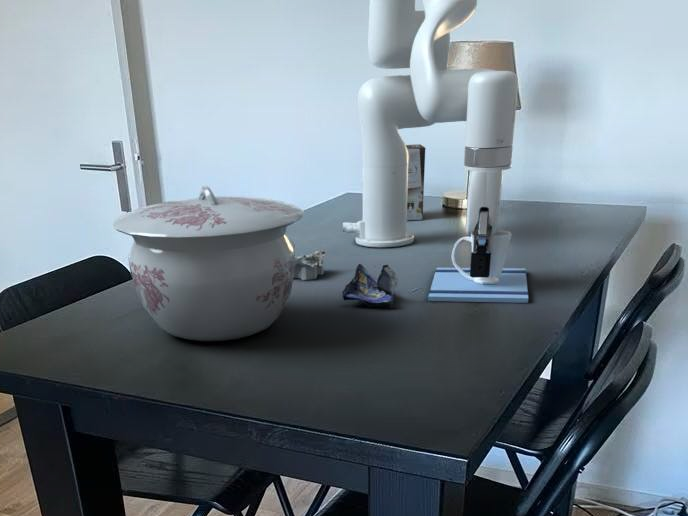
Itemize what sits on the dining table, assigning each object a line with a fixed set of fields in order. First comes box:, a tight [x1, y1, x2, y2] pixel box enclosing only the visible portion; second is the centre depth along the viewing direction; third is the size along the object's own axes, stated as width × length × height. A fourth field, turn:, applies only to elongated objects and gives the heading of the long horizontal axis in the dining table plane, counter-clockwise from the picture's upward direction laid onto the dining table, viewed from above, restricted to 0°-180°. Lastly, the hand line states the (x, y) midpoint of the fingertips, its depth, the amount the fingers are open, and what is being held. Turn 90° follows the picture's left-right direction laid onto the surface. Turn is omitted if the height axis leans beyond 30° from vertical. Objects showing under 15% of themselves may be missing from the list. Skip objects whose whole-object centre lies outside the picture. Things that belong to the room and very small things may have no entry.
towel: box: [427, 267, 529, 304], centre depth 138 cm, size 16×20×1 cm
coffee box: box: [405, 143, 426, 221], centre depth 192 cm, size 9×6×16 cm
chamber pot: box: [112, 185, 304, 343], centre depth 117 cm, size 28×28×21 cm
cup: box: [451, 229, 513, 284], centre depth 136 cm, size 7×10×8 cm
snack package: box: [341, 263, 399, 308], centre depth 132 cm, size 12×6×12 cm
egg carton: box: [293, 250, 326, 281], centre depth 149 cm, size 11×8×4 cm
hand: (480, 271), depth 137 cm, fingers closed on cup, 5 cm apart
